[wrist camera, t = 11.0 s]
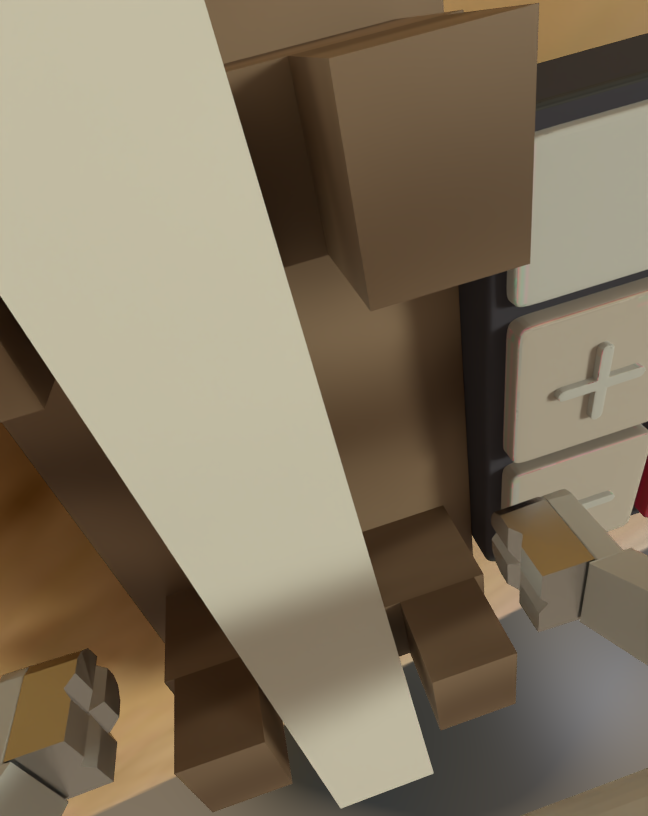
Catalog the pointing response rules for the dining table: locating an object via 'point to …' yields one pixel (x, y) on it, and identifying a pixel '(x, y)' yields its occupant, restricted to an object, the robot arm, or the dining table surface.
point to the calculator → (569, 307)
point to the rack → (343, 341)
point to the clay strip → (195, 357)
